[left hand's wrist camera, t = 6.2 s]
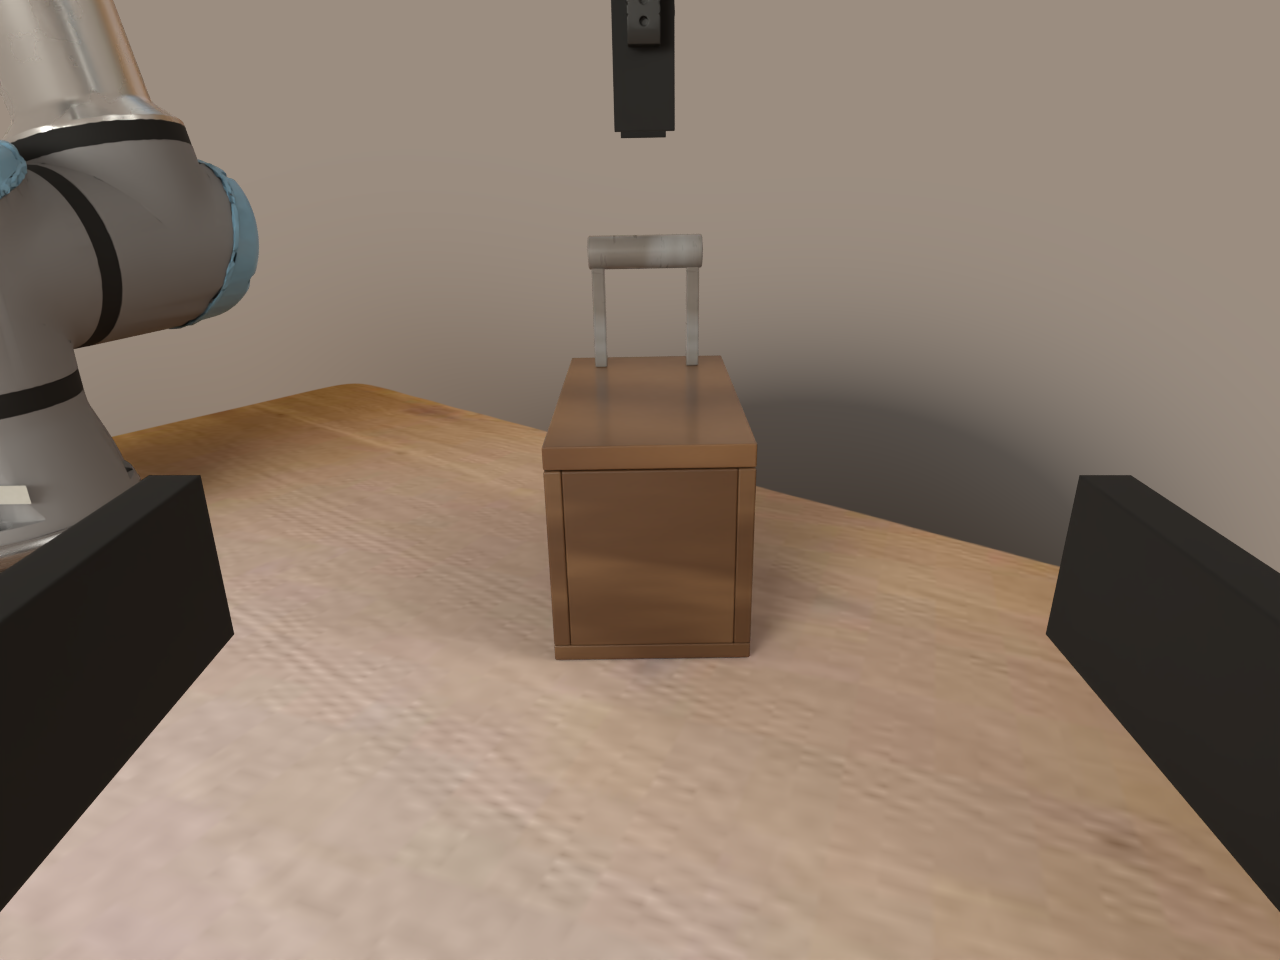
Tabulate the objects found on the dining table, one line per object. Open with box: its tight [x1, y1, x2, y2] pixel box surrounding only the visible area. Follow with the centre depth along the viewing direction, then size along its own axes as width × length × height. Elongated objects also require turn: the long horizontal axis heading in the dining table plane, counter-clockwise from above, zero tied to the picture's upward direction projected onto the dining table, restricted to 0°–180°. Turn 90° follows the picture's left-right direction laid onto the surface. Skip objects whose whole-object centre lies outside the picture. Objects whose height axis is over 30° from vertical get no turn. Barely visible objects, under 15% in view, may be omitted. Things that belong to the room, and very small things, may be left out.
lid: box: [542, 234, 757, 470], centre depth 41 cm, size 17×9×8 cm, turn 0°
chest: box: [543, 467, 756, 660], centre depth 44 cm, size 16×9×10 cm, turn 0°
